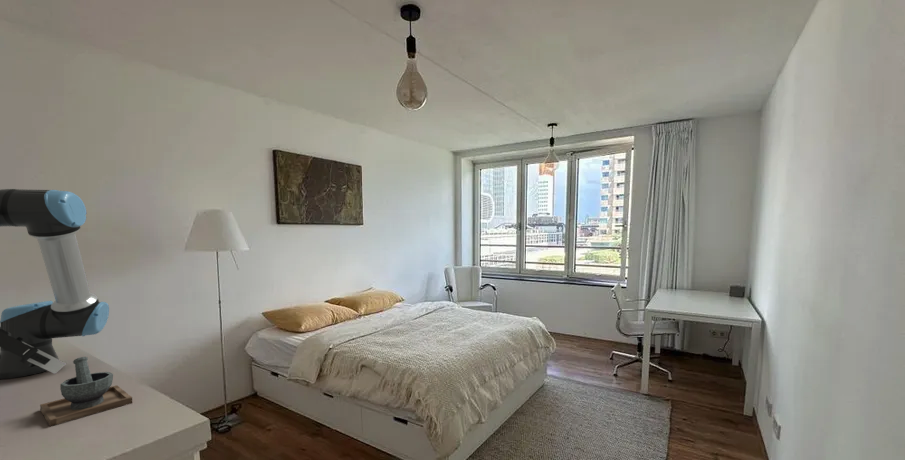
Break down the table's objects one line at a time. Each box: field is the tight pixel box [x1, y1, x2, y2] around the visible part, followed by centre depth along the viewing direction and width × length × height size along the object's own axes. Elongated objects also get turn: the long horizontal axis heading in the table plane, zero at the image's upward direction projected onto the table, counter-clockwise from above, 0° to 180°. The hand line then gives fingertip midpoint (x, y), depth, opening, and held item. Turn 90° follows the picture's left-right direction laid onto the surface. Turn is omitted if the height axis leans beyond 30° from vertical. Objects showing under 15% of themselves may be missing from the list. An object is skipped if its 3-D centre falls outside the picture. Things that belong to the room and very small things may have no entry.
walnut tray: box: [39, 385, 133, 427], centre depth 96 cm, size 15×15×2 cm
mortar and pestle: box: [59, 356, 114, 410], centre depth 96 cm, size 11×9×12 cm
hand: (51, 364), depth 90 cm, fingers open, 13 cm apart
